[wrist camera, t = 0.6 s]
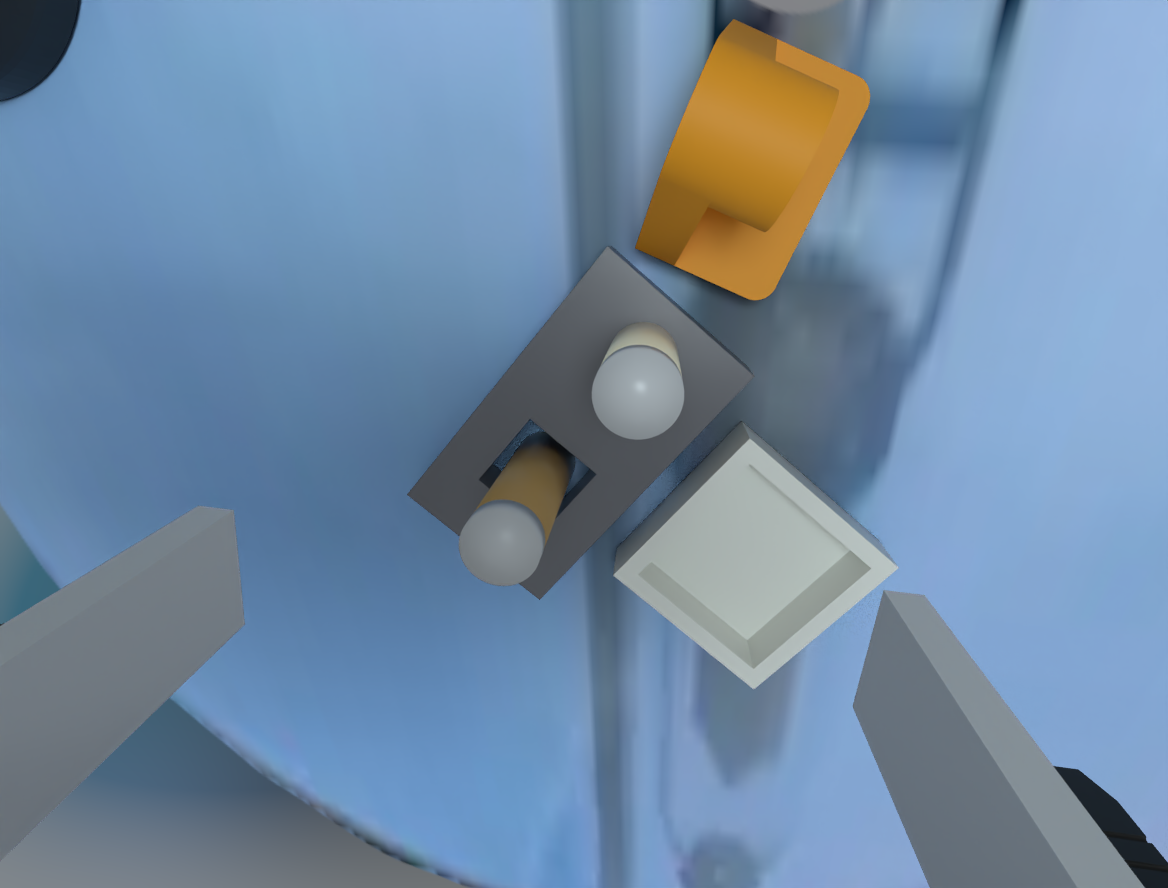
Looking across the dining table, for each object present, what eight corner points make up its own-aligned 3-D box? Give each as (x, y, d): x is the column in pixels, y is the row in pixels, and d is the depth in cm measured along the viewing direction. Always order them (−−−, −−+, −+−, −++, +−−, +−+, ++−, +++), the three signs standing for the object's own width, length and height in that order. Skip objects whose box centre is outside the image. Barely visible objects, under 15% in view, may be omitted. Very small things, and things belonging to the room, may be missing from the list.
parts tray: (616, 547, 40) (613, 575, 37) (741, 421, 37) (749, 438, 34) (746, 653, 42) (753, 689, 38) (878, 539, 38) (898, 567, 35)
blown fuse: (504, 461, 40) (442, 550, 28) (541, 419, 39) (491, 493, 27) (550, 499, 40) (506, 601, 29) (587, 457, 39) (557, 546, 28)
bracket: (757, 302, 35) (805, 330, 24) (636, 247, 35) (625, 250, 24) (861, 98, 32) (973, 17, 20) (727, 37, 32) (765, -78, 20)
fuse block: (547, 575, 42) (505, 700, 30) (424, 477, 40) (332, 568, 29) (747, 365, 36) (787, 422, 25) (611, 246, 35) (588, 247, 24)
